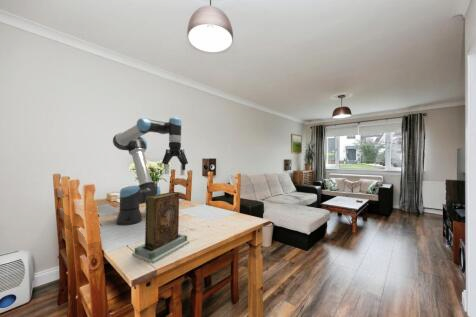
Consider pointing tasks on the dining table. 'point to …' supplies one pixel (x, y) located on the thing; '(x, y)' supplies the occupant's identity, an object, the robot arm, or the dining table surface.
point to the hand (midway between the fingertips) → (174, 174)
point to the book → (161, 220)
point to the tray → (161, 249)
